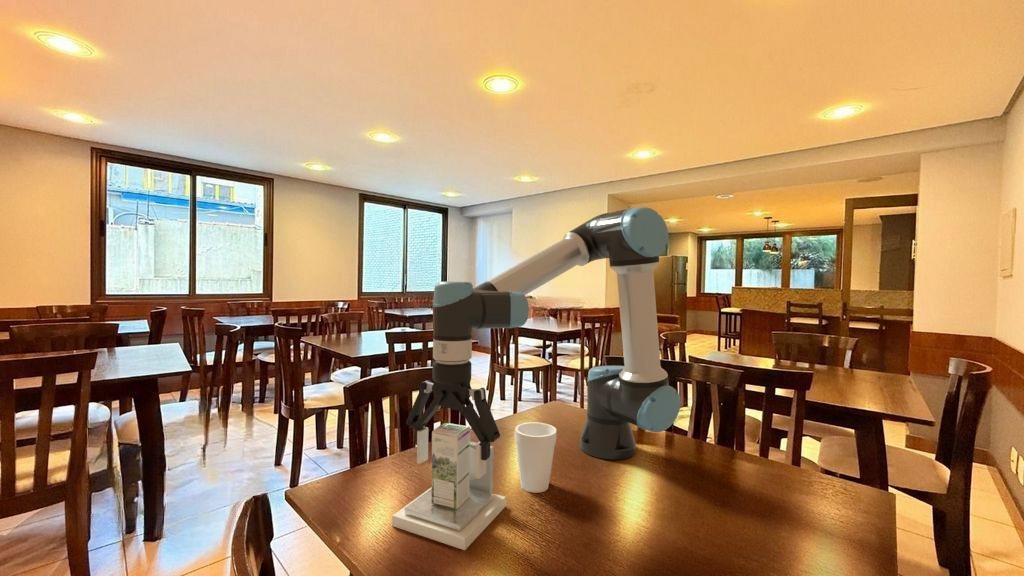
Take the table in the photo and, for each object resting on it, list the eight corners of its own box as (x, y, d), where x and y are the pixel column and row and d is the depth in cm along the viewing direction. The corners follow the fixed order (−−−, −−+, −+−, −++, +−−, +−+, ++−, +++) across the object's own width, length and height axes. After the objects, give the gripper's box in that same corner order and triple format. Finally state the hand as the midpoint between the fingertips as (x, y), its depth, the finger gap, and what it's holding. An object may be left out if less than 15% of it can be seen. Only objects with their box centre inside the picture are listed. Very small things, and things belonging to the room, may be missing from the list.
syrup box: (470, 496, 86) (471, 425, 86) (456, 511, 81) (457, 435, 80) (445, 491, 88) (446, 421, 88) (429, 505, 83) (430, 430, 82)
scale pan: (492, 498, 87) (492, 493, 87) (460, 530, 76) (460, 525, 76) (442, 485, 93) (442, 480, 93) (404, 513, 82) (404, 508, 82)
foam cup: (552, 498, 92) (553, 438, 92) (510, 493, 94) (511, 434, 94) (557, 478, 102) (558, 424, 101) (518, 474, 103) (519, 420, 103)
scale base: (505, 506, 89) (506, 449, 89) (464, 550, 74) (465, 481, 74) (441, 488, 96) (441, 435, 95) (392, 526, 81) (392, 463, 81)
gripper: (389, 357, 86) (387, 462, 86) (500, 371, 75) (498, 491, 76) (413, 351, 93) (411, 449, 93) (518, 363, 82) (516, 473, 82)
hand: (450, 468), depth 84 cm, fingers open, 13 cm apart
